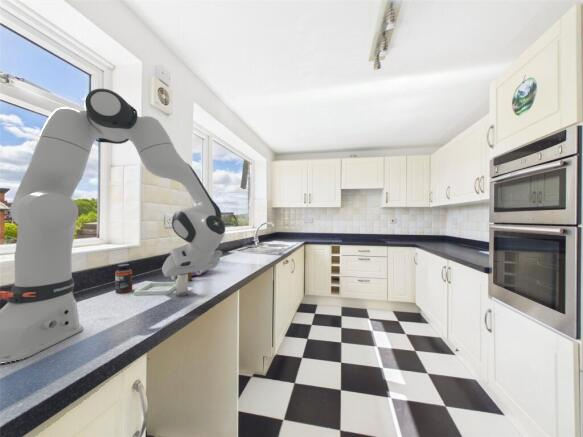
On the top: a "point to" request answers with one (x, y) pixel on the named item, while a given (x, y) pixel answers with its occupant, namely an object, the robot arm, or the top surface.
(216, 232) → the robot arm
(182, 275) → the salt shaker
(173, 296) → the holder
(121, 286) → the supplement bottle
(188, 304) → the top surface
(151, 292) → the parts tray
